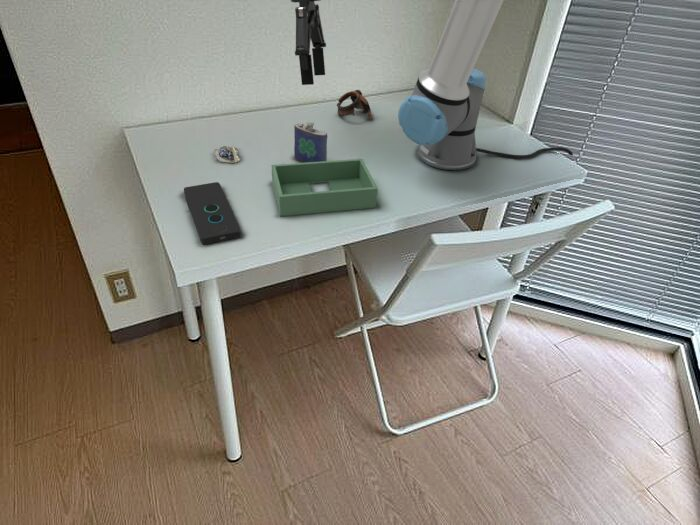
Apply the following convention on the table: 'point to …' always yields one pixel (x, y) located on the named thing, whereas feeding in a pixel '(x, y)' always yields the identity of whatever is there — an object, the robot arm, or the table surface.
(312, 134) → the flask
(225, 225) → the smart home device
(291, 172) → the open box
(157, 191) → the table surface
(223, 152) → the geode half
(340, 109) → the brown looped sculpture
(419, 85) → the robot arm
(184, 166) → the table surface
